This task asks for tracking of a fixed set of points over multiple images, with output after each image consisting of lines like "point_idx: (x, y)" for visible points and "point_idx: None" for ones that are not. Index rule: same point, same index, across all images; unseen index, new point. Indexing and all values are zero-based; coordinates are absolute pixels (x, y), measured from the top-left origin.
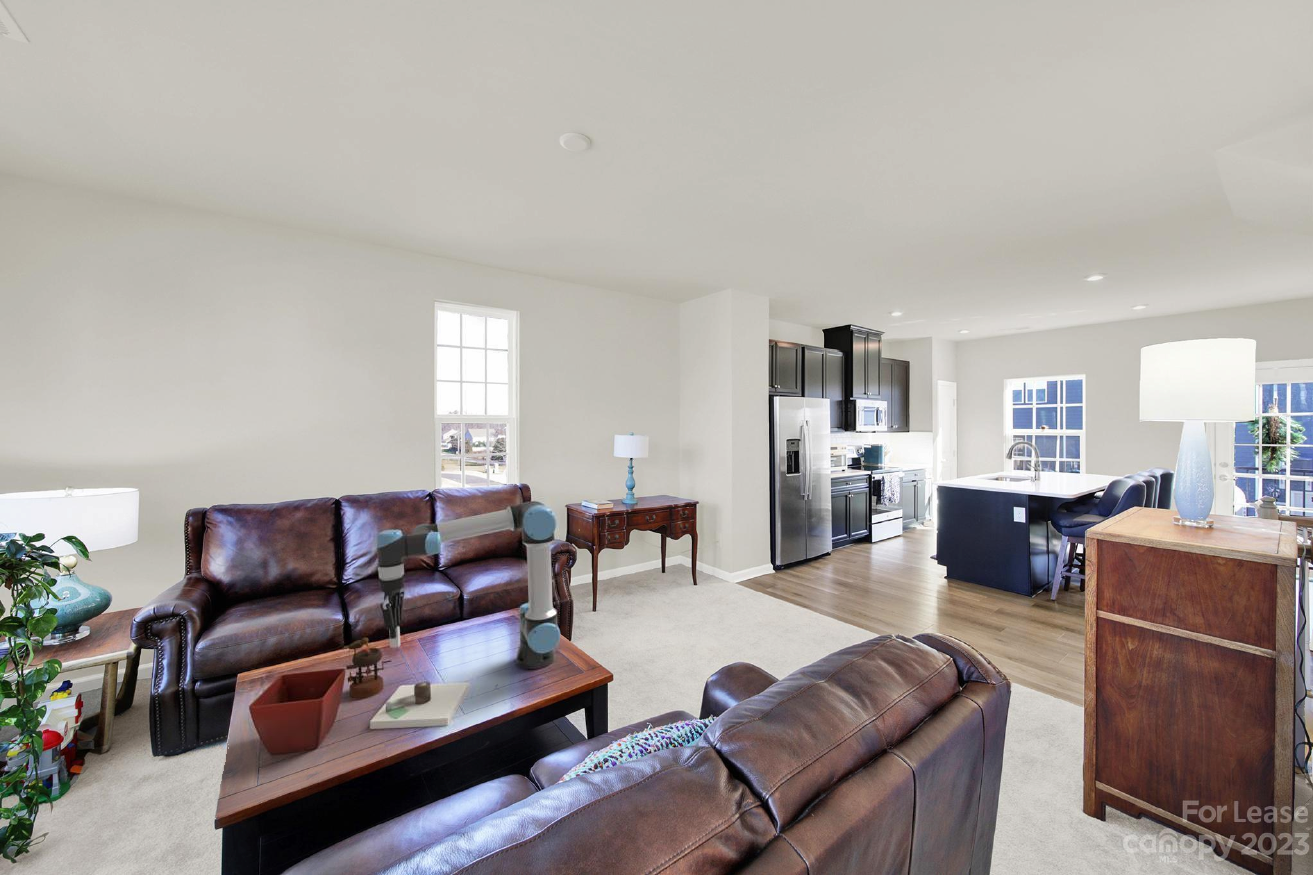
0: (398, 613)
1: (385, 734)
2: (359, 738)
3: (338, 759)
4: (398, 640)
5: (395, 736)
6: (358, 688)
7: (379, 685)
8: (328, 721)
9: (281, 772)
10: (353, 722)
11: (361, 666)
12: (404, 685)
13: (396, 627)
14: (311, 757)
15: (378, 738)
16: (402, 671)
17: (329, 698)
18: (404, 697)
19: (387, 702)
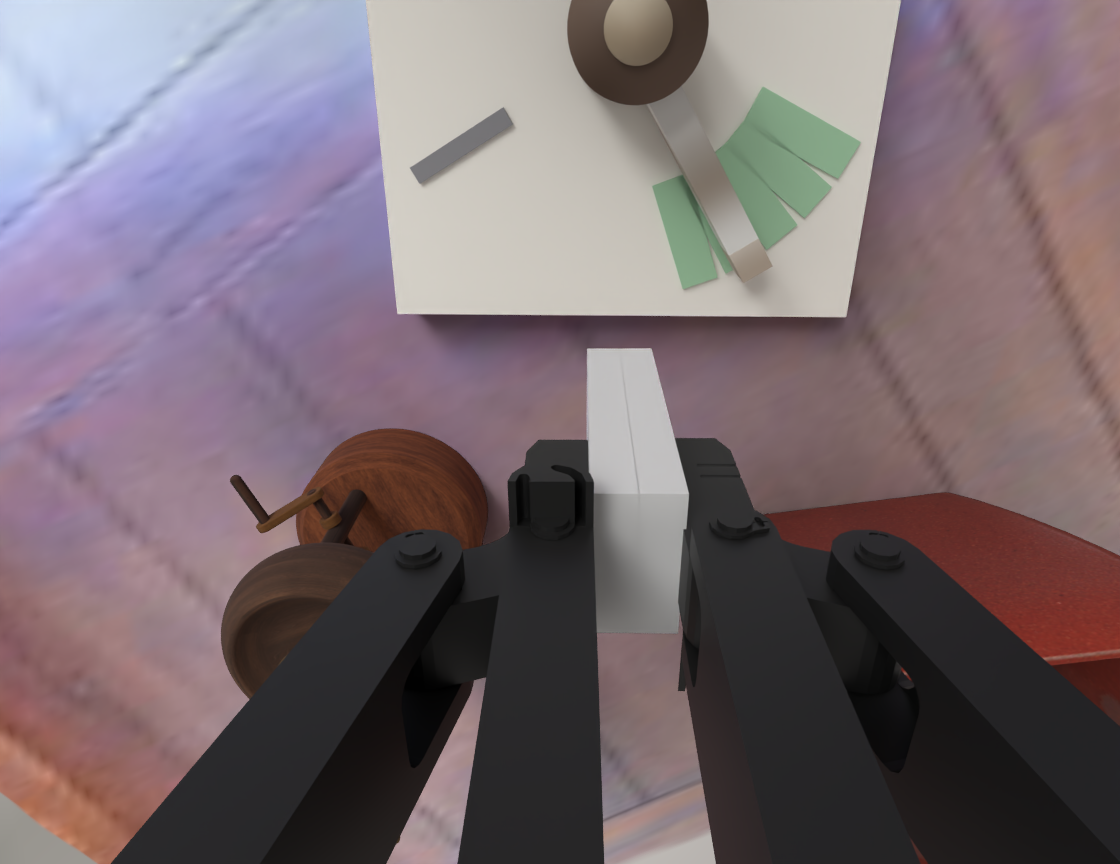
0: (578, 730)
1: (918, 178)
2: (917, 321)
3: (1100, 341)
4: (650, 383)
5: (963, 95)
6: (470, 546)
7: (403, 450)
8: (900, 530)
9: (1107, 548)
10: (735, 429)
11: None
12: (398, 285)
13: (730, 511)
14: (1026, 481)
15: (952, 204)
16: (148, 403)
17: (1069, 606)
18: (688, 167)
19: (742, 270)
